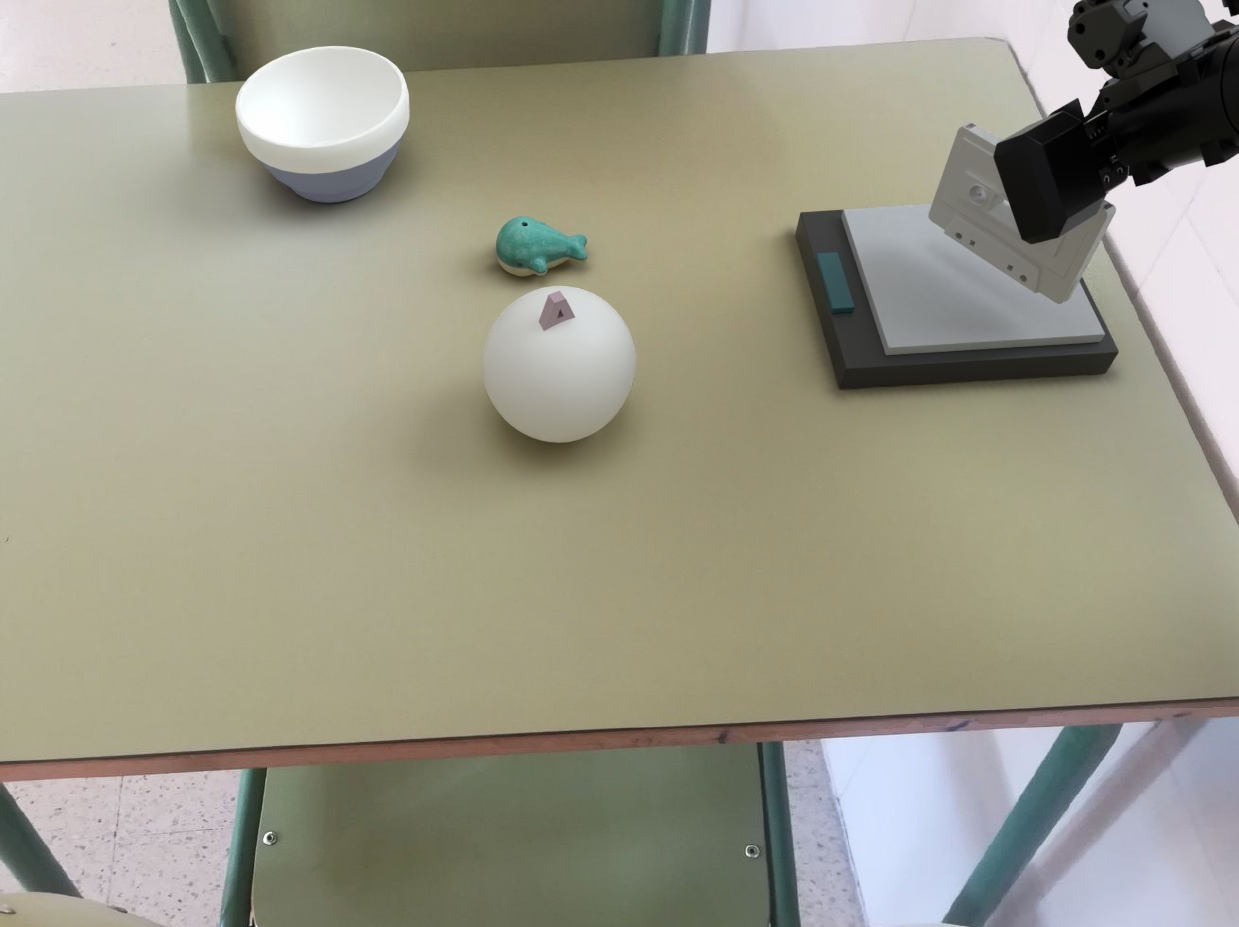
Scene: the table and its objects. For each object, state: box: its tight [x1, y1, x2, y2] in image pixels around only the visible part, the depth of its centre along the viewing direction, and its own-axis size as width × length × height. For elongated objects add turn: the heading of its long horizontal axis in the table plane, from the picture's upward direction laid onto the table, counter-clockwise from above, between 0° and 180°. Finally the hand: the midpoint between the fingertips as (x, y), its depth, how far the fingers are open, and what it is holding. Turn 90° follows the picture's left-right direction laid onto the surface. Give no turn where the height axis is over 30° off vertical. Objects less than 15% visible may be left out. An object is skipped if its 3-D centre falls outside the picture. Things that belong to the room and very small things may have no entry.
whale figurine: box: [495, 215, 588, 277], centre depth 84 cm, size 6×7×4 cm
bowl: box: [234, 45, 410, 204], centre depth 90 cm, size 14×14×8 cm
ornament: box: [481, 285, 637, 444], centre depth 71 cm, size 10×10×12 cm
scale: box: [794, 200, 1120, 390], centre depth 79 cm, size 19×17×3 cm
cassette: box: [928, 121, 1117, 304], centre depth 71 cm, size 12×2×8 cm, turn 35°
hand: (1013, 168), depth 70 cm, fingers closed on cassette, 1 cm apart
